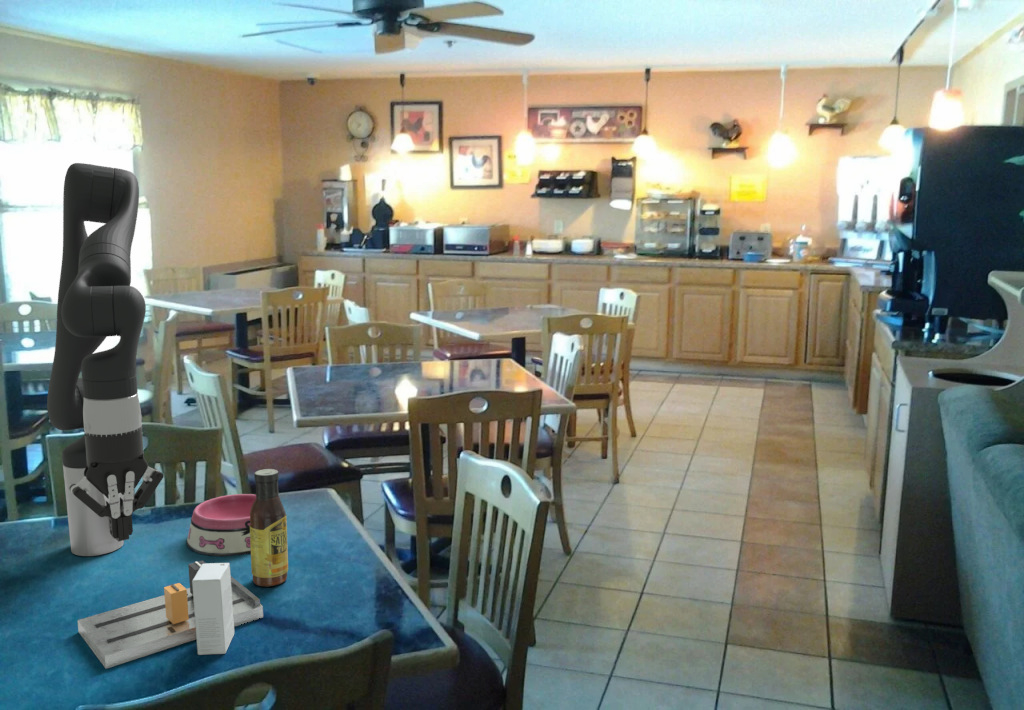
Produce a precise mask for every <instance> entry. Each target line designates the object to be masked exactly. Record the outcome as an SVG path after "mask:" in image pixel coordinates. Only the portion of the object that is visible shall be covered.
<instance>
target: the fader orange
mask: <svg viewBox="0 0 1024 710" xmlns="http://www.w3.org/2000/svg"><path fill="white" fill-rule="evenodd" d="M163 593H164V595H165V608H166V618H167V619H168V620H169V621H170V622H171V623H172V624H176V623H179V622H182V621H186V620H189V616H188V602H187V588H186V587H185V586H184V585H182V584H181V583H180V582H178V583H172V584H170V585H167V586H164V587H163Z"/></svg>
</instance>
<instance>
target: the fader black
mask: <svg viewBox="0 0 1024 710" xmlns="http://www.w3.org/2000/svg"><path fill="white" fill-rule="evenodd" d="M206 563H207V562H205V561H204V560H199V561H194V562H191V563H188V564H187V567H188V578H189V588H190V593H191V594H192V595H193V586H192V580H193V579H194V577H195V575H196V574H197V572H198V570H199V569H200V567H201V565H202V564H206Z"/></svg>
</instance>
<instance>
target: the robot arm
mask: <svg viewBox="0 0 1024 710" xmlns="http://www.w3.org/2000/svg"><path fill="white" fill-rule="evenodd" d="M138 181H139V180H138V178H137V177H136V175H135V174H134V173H133V172H132V171H129V170H126V169H122V168H117V167H111V166H103V165H102V166H101V165H96V164H90V163H82V162H80V163H79V162H75V163H74V162H73V163H72V164H70V165H69V167H68V168H67V170H66V173H65V176H64V183H63V195H62V197H63V198H62V200H63V203H62V207H63V210H62V213H63V214H62V215H63V216H62V218H63V219H62V220H63V221H62V224H63V225H62V255H61V256H62V258H61V267H60V275H59V282H58V283H59V284H58V293H57V294H58V295H57V304H56V305H57V309H56V327H55V328H56V331H55V344H54V345H55V346H54V355H53V356H54V357H53V361H52V362H53V363H52V365H51V366H52V367H51V371H50V379H49V383H48V389H47V391H48V392H47V396H46V397H47V398H46V400H47V401H46V402H47V403H46V405H47V407H46V408H47V416H48V418H49V421H50V423H51V425H52V426H53V427H54V428H55V429H56V430H60V431H72V430H77V429H82V428H83V430H84V434H83V436H81V437H80V438H78V439H77V440H75V441H73V442H72V443H70V444H68V445H66V447H64V448H63V450H62V453H61V458H62V461H61V462H62V468H63V479H64V488H65V489H64V490H65V500H66V512H67V521H68V532H69V542H70V552H71V553H72V554H74V555H76V556H81V557H94V556H95V557H96V556H101V555H106V554H109V553H112V552H115V551H117V550H119V549H120V548H122V547H123V545H124V544H125V542H124V541H126V540H129V539H130V536H131V535H133V531H134V529H133V526H134V525H133V513H134V512H135V511H137V510H141V509H143V508H144V507H146V504H147V503H148V501H149V500H150V498H151V496H152V495H153V494H154V492H155V491H156V489H157V488H158V486H159V485H160V484H161V482H162V480H163V478H164V474H163V473H162V472H161V471H160V470H159V469H157V468H152V467H150V466H149V463H148V461H147V460H146V458H145V456H144V455H145V454H144V437H143V424H142V422H143V415H142V411H141V403H140V400H139V394H138V380H137V379H138V378H137V377H138V376H137V354H138V353H137V352H138V348H139V347H138V346H139V341H140V338H141V337H140V336H141V332H142V329H143V327H144V321H145V317H146V311H147V309H146V308H147V307H146V301H145V298H144V296H143V293H141V292H140V291H139V290H138V289H137V288H136V287H134V286H132V285H131V282H132V276H131V275H132V270H131V269H132V267H131V264H132V263H131V253H132V252H131V251H132V245H133V241H134V237H135V232H136V226H137V218H138V213H139V204H140V187H139V182H138ZM85 222H89V223H91V222H93V223H100V224H103V225H102V226H100V227H99V228H97V229H95V230H94V231H92V232H91V233H90V234H89V235H88V233H87V230H86V225H85ZM107 337H120V339H119V342H118V343H117V344H116V345H115V346H113V347H112V348H109V349H106V350H103V351H98V352H96V351H97V349H98V348H99V347H100V346H101V345H102V344H103V342H104V341H105V340H106V338H107ZM80 374H81V377H80V378H79V376H80ZM142 479H143V481H142ZM140 481H142V482H141V484H140V486H139V488H138V489H137V490H136V492H135V489H136V487H137V486H138V485H139V483H140Z"/></svg>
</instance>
